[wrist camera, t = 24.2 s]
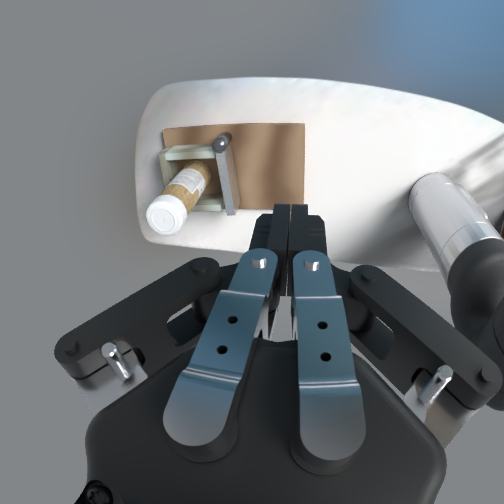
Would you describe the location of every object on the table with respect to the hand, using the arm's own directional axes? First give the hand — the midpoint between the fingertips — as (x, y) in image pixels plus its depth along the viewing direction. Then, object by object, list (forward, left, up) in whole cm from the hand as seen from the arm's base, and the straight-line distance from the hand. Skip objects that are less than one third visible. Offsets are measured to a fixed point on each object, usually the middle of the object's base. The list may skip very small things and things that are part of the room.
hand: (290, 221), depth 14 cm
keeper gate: (+9, +8, -28) cm, 30 cm away
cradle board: (+9, +9, -29) cm, 32 cm away
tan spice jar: (+14, +9, -28) cm, 33 cm away
